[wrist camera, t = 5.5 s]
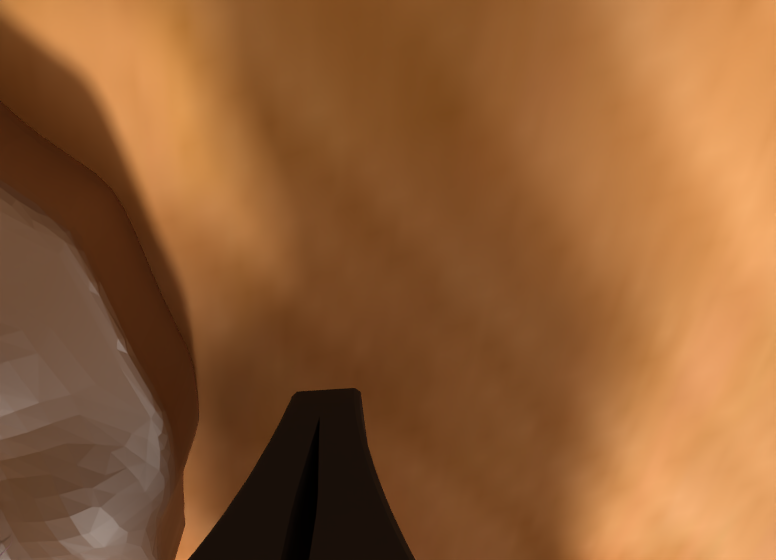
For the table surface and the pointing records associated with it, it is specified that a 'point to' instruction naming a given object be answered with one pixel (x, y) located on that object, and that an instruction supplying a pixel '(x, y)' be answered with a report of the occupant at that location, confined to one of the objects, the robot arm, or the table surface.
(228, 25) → the table surface
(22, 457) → the plant
